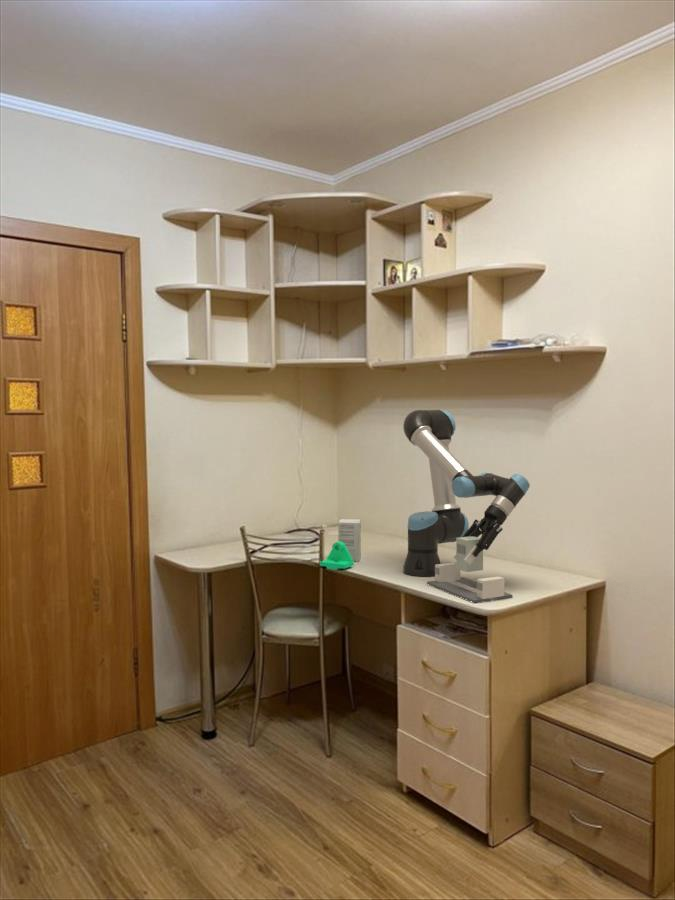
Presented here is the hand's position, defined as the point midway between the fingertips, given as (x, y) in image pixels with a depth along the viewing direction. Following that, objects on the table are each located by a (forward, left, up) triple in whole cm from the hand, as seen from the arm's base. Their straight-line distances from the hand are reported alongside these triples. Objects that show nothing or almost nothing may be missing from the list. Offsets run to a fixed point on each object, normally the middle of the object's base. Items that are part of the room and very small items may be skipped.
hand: (461, 560), depth 239 cm
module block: (0, +4, -3) cm, 5 cm away
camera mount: (-54, -22, -12) cm, 60 cm away
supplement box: (-66, -10, -11) cm, 67 cm away
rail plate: (-1, +4, -11) cm, 12 cm away
